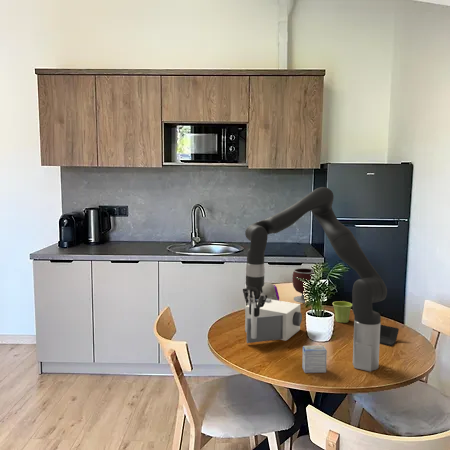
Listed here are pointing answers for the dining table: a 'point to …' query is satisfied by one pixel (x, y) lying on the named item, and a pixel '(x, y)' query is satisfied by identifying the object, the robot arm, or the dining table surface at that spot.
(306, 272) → the mate gourd
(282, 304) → the cabinet housing
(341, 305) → the plant pot
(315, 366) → the medicine box
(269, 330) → the side door
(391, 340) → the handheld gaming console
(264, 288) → the grey rounded dome
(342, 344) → the dining table surface
